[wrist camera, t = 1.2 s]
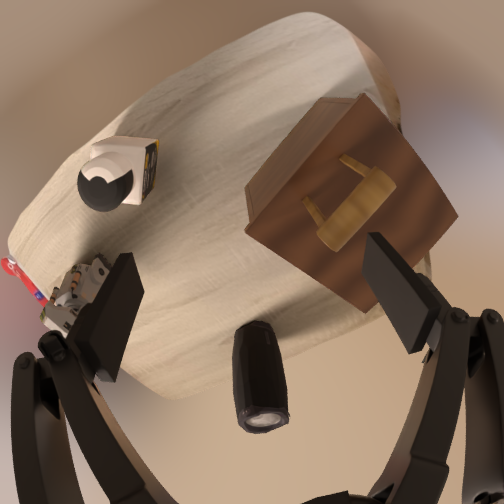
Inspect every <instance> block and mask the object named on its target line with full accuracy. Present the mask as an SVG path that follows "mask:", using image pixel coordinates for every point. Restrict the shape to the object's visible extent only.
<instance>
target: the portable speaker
mask: <svg viewBox="0 0 504 504" xmlns="http://www.w3.org/2000/svg"><path fill="white" fill-rule="evenodd" d="M234 338H235V339H234V347H233V355H232V367H233V395H234V401H235V407H236V413H237V418H238V424H239V426H241V427H242V428H243V429H244V430H245V431H246V432H249V433H254V434H260V433H267V432H269V431H271V430H274V429H276V428H279V427H281V426H283V425H285V424H288V422H289V416H290V414H289V412H288V397H287V385H286V380H285V374H284V368H283V363H282V357H281V353H280V349H279V346H278V342H277V339H276V335H275V333H274V331H273V329H272V327H271V325H270V324H268V323H265V322H263V321H254V322H253V323H252V324H250V325H247V326H244V327H242V328H241V329H239V330H236V332H235V336H234ZM288 415H289V416H288Z"/></svg>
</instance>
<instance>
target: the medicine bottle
mask: <svg viewBox="0 0 504 504" xmlns="http://www.w3.org/2000/svg"><path fill="white" fill-rule="evenodd" d="M158 146H159V140H157V139H149V138H138V137H125V136H111V137H109V138H106V139H104V140H101V141H99V142H96V143H94V144H92V145H91V158H90V161H88V162H87V163H85V164H84V166H83V167H82V168H81V170H80V172H79V175H78V181H77V185H78V191H79V194H80V196H81V198H82V200H83V201H84V202H85V204H86V205H87V206H89V207H90V208H92V209H93V210H96V211H100V212H108V211H111V210H114V209H115V208H117V207H118V206H119V205H120V204H121V203H126V204H134V205H140V204H141V203H142V202H143V201H144V199H145V198H146V197H147V195H148V194H149V193H150V192H151V190H152V189H153V188H154V183H155V172H156V163H157V154H158Z"/></svg>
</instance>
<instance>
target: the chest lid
mask: <svg viewBox="0 0 504 504" xmlns="http://www.w3.org/2000/svg"><path fill="white" fill-rule="evenodd" d="M457 218H458V215H457V213H456V212H455V210H454V208H453V206H452V205H451V203H450V201H449V200H448V199H447V197H446V195H445V193H444V192H443V190H442V189H441V187H440V186H439V184H438V183H437V181H436V180H435V178H434V177H433V176H432V174H431V173H430V171H429V170H428V168H427V167H426V166H425V164H424V163H423V161H422V160H421V159H420V157H419V156H418V155H417V153H416V152H415V151H414V149H413V148H412V147H411V146H410V144H409V143H408V142H407V140H406V139H405V138H404V137H403V135H402V134H401V133H400V132H399V131H398V129H397V128H396V127H395V126H394V125H393V124H392V122H391V121H390V120H389V119H388V118H387V117H386V116H385V114H384V113H383V112H382V111H381V110H380V109H379V108H378V107H377V106H376V105H375V103H374V102H373V101H372V100H371V99H370V98H369V97H368V96H367V95H366V94H365V93H361V94H360V95H359V96H358V97H357V98H356V99H355V100H354V102H353V103H352V104H351V105H350V106H349V107H348V108H347V109H346V111H345V112H344V113H343V114H342V115H341V116H340V117H339V119H338V120H337V121H336V122H335V123H334V124H333V125H332V127H331V128H330V129H329V130H328V131H327V132H326V133H325V135H324V136H323V137H322V138H321V139H320V140H319V142H318V143H317V144H316V145H315V146H314V147H313V148H312V150H311V151H310V152H309V153H308V154H307V155H306V157H305V158H304V159H303V160H302V161H301V162H300V164H299V165H298V166H297V167H296V168H295V169H294V171H293V172H292V173H291V174H290V175H289V176H288V178H287V179H286V180H285V181H284V182H283V184H282V185H281V186H280V187H279V188H278V189H277V191H276V192H275V193H274V194H273V195H272V197H271V198H270V199H269V200H268V201H267V203H266V204H265V205H264V206H263V207H262V209H261V210H260V211H259V212H258V213H257V214H256V216H255V217H254V218H253V219H252V220H251V222H250V223H249V224H248V225H247V227H246V228H245V229H244V230H245V233H246V234H248V235H249V236H251V237H252V238H254V239H255V240H257V241H258V242H260V243H261V244H263V245H264V246H266V247H267V248H269V249H270V250H272V251H273V252H275V253H276V254H278V255H279V256H281V257H282V258H284V259H285V260H287V261H288V262H290V263H291V264H293V265H294V266H296V267H297V268H299V269H300V270H302V271H303V272H305V273H306V274H307V275H309V276H310V277H312V278H313V279H315V280H316V281H318V282H319V283H321V284H322V285H324V286H325V287H327V288H328V289H330V290H331V291H333V292H334V293H336V294H337V295H339V296H340V297H342V298H343V299H344V300H346V301H347V302H349V303H350V304H352V305H353V306H355V307H356V308H358V309H359V310H361V311H362V312H363V313H365V314H366V313H367V312H368V311H369V310H370V309H371V308H372V307H373V306H375V305H376V304H377V303H378V302H379V301H378V299H377V298H376V296H375V294H374V293H373V291H372V290H371V288H370V286H369V285H368V283H367V282H366V280H365V278H364V277H363V275H362V274H361V270H362V265H363V259H364V252H365V246H366V239H367V232H380V233H381V234H382V235H383V237H384V238H385V239H386V240H387V241H388V242H389V243H390V244H391V245H392V246H393V247H394V249H395V250H396V251H397V252H398V253H399V254H400V255H401V256H402V258H403V259H404V260H405V261H406V262H407V263H408V265H409V266H410V267H411V268H413V267H414V266H415V265H416V264H417V263H418V262H419V261H420V260H421V259H422V258H423V257H424V256H425V255H426V254H427V252H428V251H429V250H430V249H431V248H432V247H433V246H434V245H435V244H436V242H437V241H438V240H439V239H440V238H441V237H442V235H443V234H444V233H445V232H446V231H447V230H448V229H449V227H450V226H451V225H452V224H453V223H454V221H455V220H456V219H457Z"/></svg>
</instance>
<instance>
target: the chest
mask: <svg viewBox="0 0 504 504" xmlns="http://www.w3.org/2000/svg"><path fill="white" fill-rule="evenodd" d="M354 100H355V99H354V98H320V99H319V100H318V101H317V102H316V103H315V104H314V105H313V107H312V108H311V109H310V110H309V111H308V112H307V113H306V115H305V116H304V117H303V118H302V119H301V120H300V122H299V123H298V124H297V125H296V126H295V127H294V129H293V130H292V131H291V132H290V133H289V134H288V136H287V137H286V138H285V139H284V140H283V142H282V143H281V144H280V145H279V146H278V147H277V149H276V150H275V151H274V152H273V153H272V155H271V156H270V157H269V158H268V160H267V161H266V162H265V163H264V164H263V166H262V167H261V168H260V169H259V171H258V172H257V173H256V174H255V175H254V177H253V178H252V179H251V180H250V182H249V183H248V184H247V185H246V187H245V194H246V201H247V208H248V215H249V222H251V220H252V219H253V218H254V217H255V216H256V214H257V213H258V212H259V211H260V210H261V209H262V207H263V206H264V205H265V204H266V203H267V201H268V200H269V199H270V198H271V197H272V195H273V194H274V193H275V192H276V191H277V189H278V188H279V187H280V186H281V185H282V184H283V182H284V181H285V180H286V179H287V178H288V176H289V175H290V174H291V173H292V172H293V171H294V169H295V168H296V167H297V166H298V165H299V164H300V162H301V161H302V160H303V159H304V158H305V157H306V155H307V154H308V153H309V152H310V151H311V150H312V148H313V147H314V146H315V145H316V144H317V143H318V142H319V140H320V139H321V138H322V137H323V136H324V135H325V133H326V132H327V131H328V130H329V129H330V128H331V127H332V125H333V124H334V123H335V122H336V121H337V120H338V119H339V117H340V116H341V115H342V114H343V113H344V112H345V111H346V109H347V108H348V107H349V106H350V105H351V104H352V103H353V102H354Z"/></svg>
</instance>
